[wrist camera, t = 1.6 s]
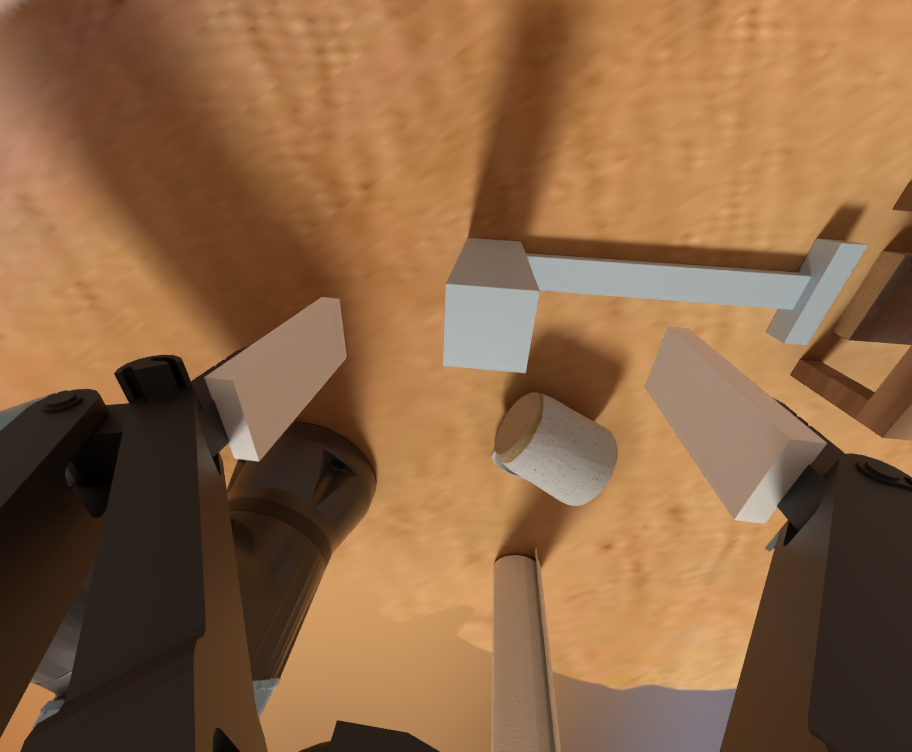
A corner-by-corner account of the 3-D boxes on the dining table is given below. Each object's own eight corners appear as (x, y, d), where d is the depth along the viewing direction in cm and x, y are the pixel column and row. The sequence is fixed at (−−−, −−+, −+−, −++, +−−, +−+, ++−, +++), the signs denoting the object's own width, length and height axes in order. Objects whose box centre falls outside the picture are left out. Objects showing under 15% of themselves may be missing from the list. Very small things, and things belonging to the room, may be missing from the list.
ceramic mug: (533, 371, 31) (542, 425, 25) (605, 413, 33) (632, 474, 26) (473, 445, 36) (467, 505, 30) (537, 478, 38) (545, 542, 31)
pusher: (463, 308, 29) (442, 391, 18) (469, 215, 25) (447, 247, 14) (787, 334, 27) (989, 444, 16) (841, 239, 24) (1149, 296, 13)
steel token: (826, 329, 27) (848, 340, 26) (876, 249, 24) (905, 255, 23) (909, 335, 27) (937, 346, 25) (970, 255, 24) (1007, 261, 22)
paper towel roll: (505, 584, 48) (511, 838, 30) (485, 559, 46) (477, 818, 27) (555, 573, 46) (595, 842, 27) (536, 546, 43) (565, 821, 25)
